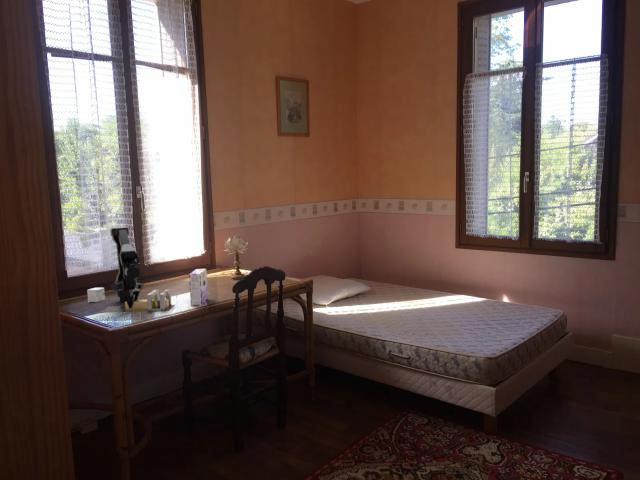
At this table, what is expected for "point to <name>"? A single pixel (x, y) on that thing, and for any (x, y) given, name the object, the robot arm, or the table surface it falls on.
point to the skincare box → (96, 294)
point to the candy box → (198, 287)
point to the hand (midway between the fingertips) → (132, 307)
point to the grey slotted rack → (149, 302)
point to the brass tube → (145, 304)
